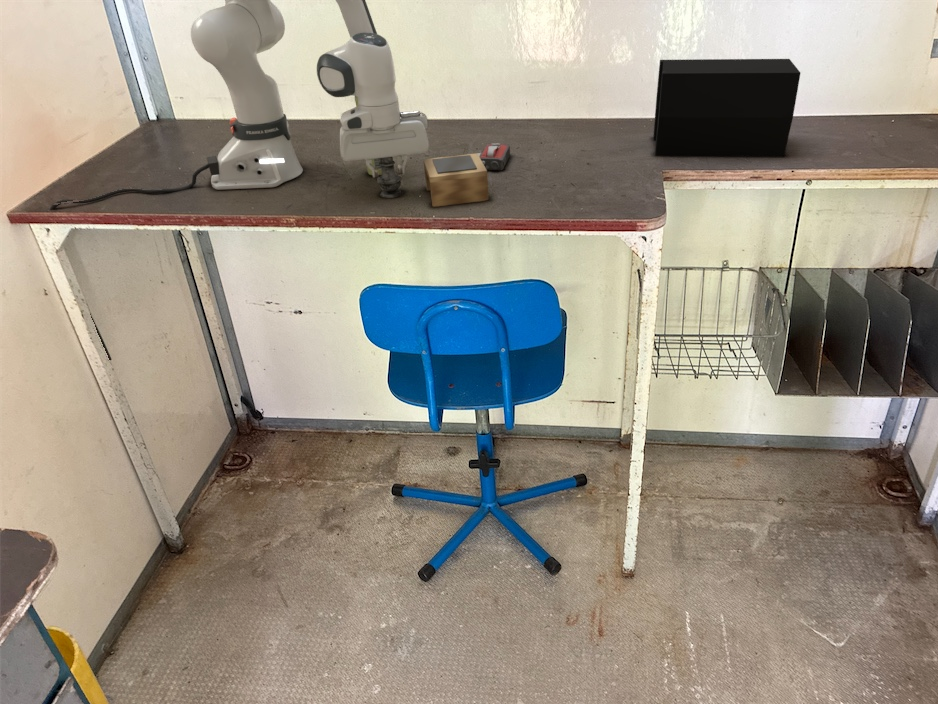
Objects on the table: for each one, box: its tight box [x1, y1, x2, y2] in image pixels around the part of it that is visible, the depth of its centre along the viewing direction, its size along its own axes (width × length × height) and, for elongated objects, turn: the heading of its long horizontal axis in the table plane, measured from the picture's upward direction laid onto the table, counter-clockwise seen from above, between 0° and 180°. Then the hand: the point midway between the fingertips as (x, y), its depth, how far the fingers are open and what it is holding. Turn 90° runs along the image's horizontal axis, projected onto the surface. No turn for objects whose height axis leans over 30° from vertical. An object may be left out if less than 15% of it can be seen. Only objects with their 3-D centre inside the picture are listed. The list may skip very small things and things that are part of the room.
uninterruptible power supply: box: [652, 58, 801, 158], centre depth 181 cm, size 16×34×20 cm, turn 83°
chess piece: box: [376, 157, 403, 199], centre depth 165 cm, size 6×6×12 cm
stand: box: [422, 152, 489, 208], centre depth 165 cm, size 13×12×7 cm
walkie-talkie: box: [477, 142, 511, 171], centre depth 179 cm, size 9×4×20 cm
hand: (388, 175), depth 166 cm, fingers open, 5 cm apart
